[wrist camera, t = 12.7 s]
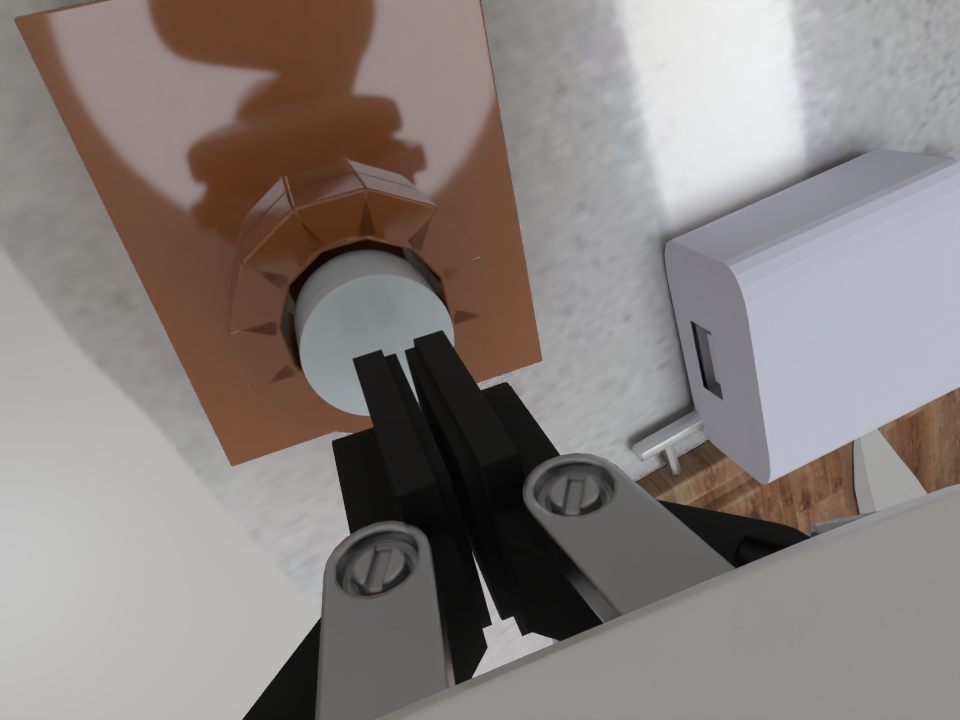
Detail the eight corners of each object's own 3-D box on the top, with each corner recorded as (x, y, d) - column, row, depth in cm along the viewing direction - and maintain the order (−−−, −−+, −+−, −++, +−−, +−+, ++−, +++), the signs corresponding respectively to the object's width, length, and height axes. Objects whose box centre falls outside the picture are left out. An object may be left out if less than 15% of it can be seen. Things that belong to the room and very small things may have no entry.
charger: (985, 294, 30) (698, 434, 28) (993, 87, 26) (656, 236, 24) (1102, 330, 26) (773, 496, 24) (1133, 89, 22) (739, 270, 20)
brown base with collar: (49, 19, 16) (-22, 15, 12) (436, -63, 18) (496, -91, 14) (233, 416, 22) (230, 509, 18) (511, 325, 24) (569, 390, 20)
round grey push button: (272, 273, 16) (276, 303, 14) (416, 230, 16) (436, 255, 15) (319, 396, 18) (328, 437, 16) (447, 354, 18) (468, 389, 17)
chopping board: (513, 501, 28) (541, 551, 25) (1039, 206, 29) (1117, 223, 27) (718, 890, 51) (743, 937, 48) (1004, 710, 53) (1044, 746, 50)
